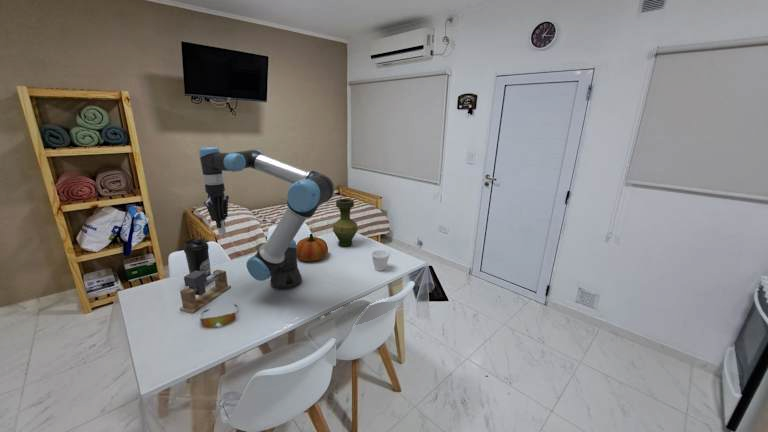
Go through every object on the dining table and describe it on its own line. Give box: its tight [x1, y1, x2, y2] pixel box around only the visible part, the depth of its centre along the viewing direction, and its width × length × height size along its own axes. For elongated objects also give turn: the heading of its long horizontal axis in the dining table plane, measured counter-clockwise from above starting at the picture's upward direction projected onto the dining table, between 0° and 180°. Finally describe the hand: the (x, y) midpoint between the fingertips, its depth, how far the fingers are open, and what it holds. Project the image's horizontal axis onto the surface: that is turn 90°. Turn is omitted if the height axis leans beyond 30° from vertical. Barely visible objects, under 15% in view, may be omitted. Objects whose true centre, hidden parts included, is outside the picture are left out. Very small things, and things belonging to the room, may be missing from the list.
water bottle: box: [183, 237, 212, 277], centre depth 150 cm, size 10×10×23 cm
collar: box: [183, 270, 207, 297], centre depth 134 cm, size 6×5×9 cm
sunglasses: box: [199, 304, 239, 328], centre depth 128 cm, size 14×15×5 cm
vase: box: [332, 198, 358, 249], centre depth 200 cm, size 16×16×30 cm
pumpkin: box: [296, 233, 329, 262], centre depth 183 cm, size 19×19×15 cm
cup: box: [370, 249, 390, 272], centre depth 172 cm, size 10×10×9 cm
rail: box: [179, 269, 232, 314], centre depth 140 cm, size 22×7×9 cm, turn 165°
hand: (222, 233), depth 143 cm, fingers closed
